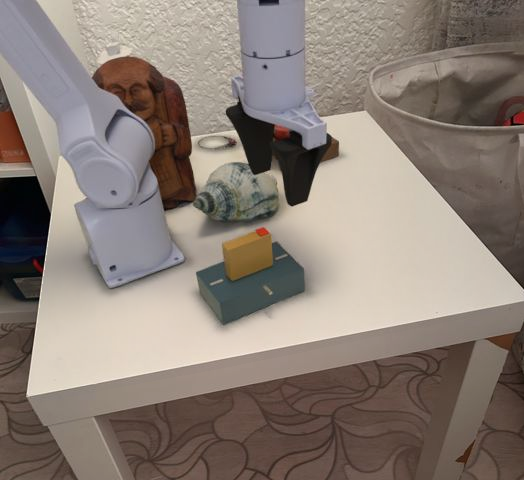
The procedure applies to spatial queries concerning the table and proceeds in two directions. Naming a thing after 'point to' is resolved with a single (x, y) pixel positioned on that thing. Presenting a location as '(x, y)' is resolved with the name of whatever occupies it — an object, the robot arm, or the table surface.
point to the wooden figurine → (156, 121)
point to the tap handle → (248, 254)
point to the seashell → (238, 194)
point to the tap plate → (251, 286)
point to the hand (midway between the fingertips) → (278, 186)
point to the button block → (330, 153)
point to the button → (281, 132)
